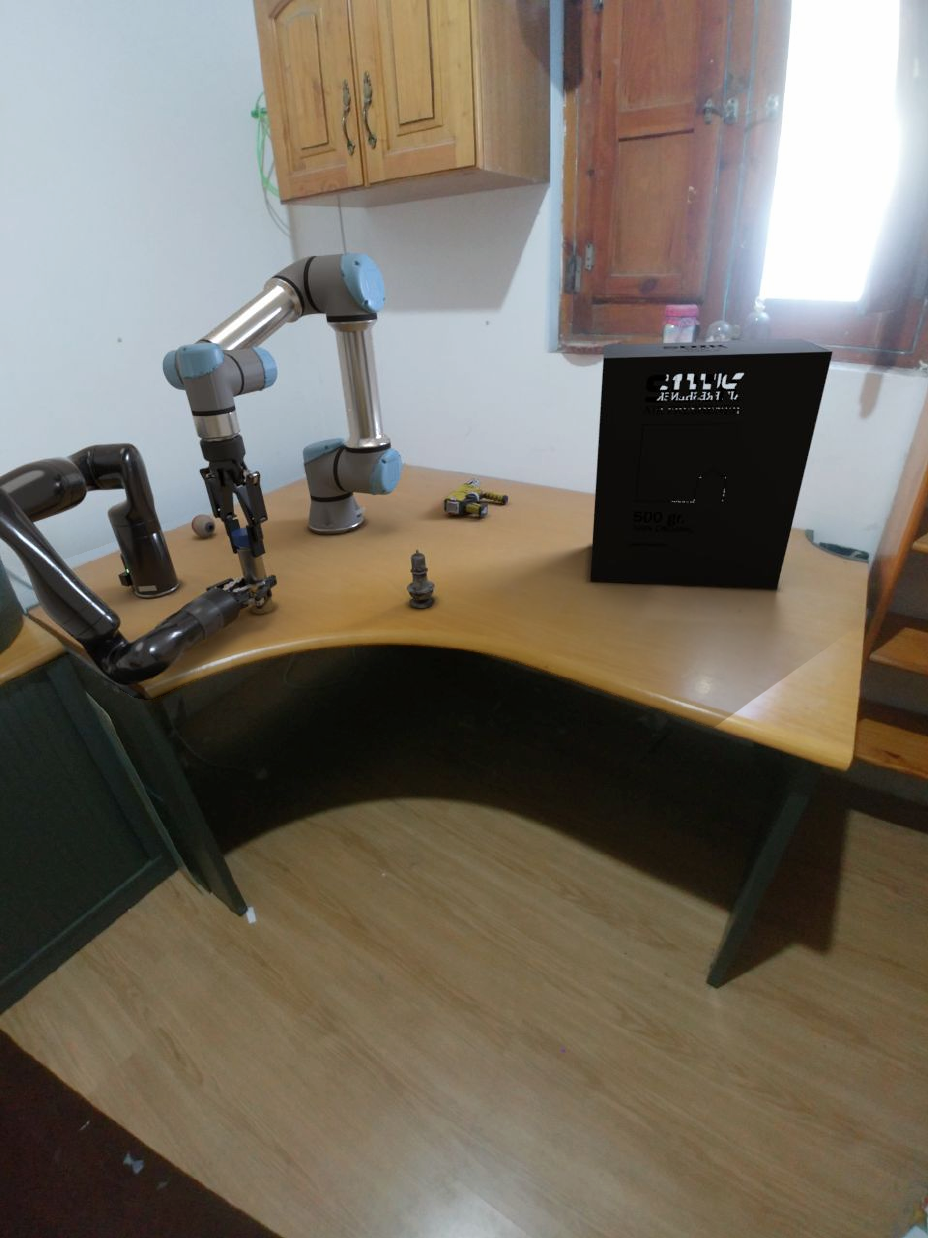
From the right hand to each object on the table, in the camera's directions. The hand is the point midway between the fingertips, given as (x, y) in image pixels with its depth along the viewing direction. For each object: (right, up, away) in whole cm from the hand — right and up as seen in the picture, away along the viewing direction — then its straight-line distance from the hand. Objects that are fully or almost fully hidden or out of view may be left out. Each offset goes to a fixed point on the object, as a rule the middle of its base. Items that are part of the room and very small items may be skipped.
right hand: (249, 552), depth 122 cm
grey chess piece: (+35, -10, +5) cm, 36 cm away
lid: (0, +4, -2) cm, 4 cm away
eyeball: (-28, +10, +45) cm, 54 cm away
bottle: (+1, -11, +6) cm, 13 cm away
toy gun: (+48, +20, +56) cm, 76 cm away
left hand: (+1, -5, +5) cm, 7 cm away
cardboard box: (+91, -1, +14) cm, 93 cm away
